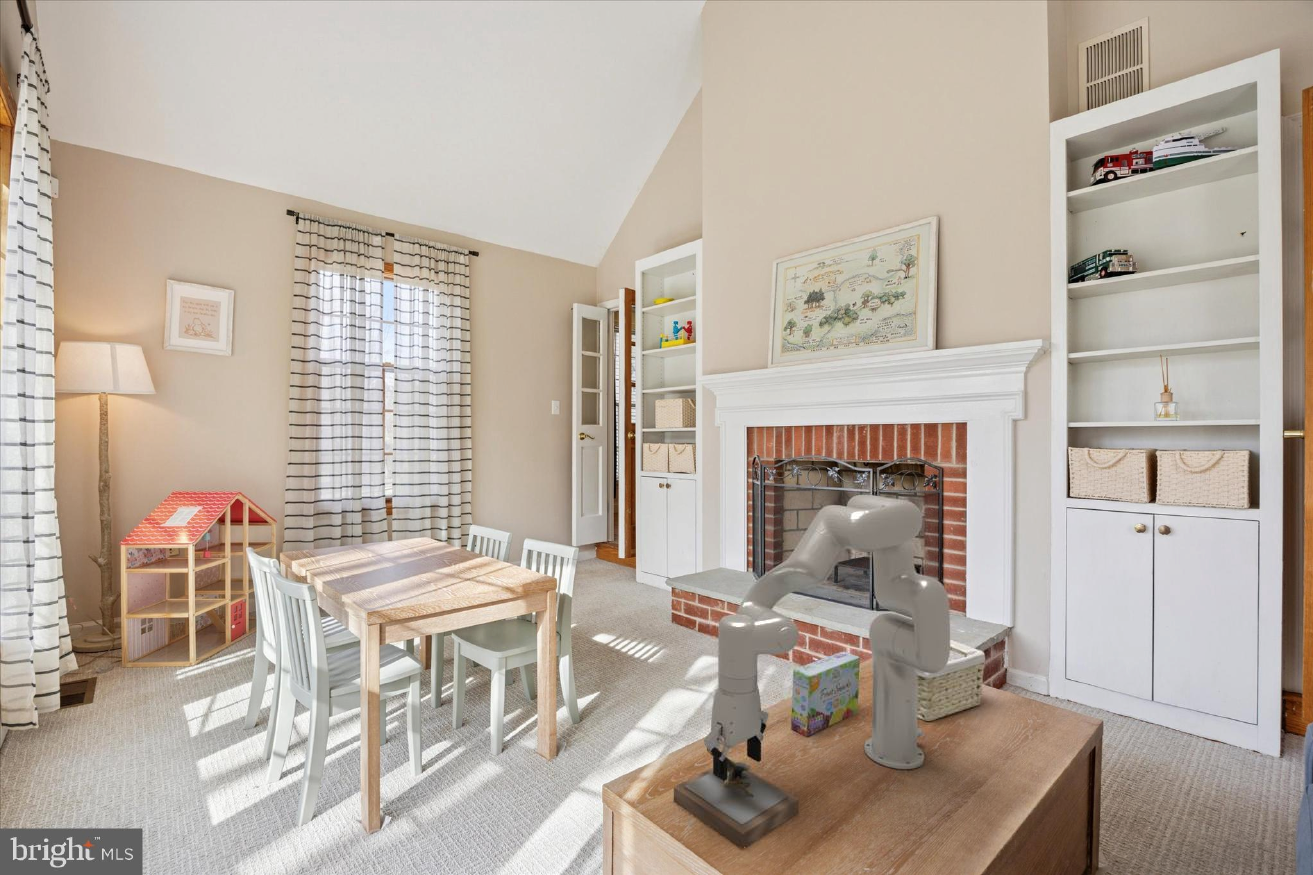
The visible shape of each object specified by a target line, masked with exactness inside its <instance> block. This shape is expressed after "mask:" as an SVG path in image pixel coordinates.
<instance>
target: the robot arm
mask: <svg viewBox="0 0 1313 875" xmlns="http://www.w3.org/2000/svg"><path fill="white" fill-rule="evenodd" d="M922 527H923V514H922V512H921V510H920V508H919V507H918V506H917V505H916V504H915V503H913V502H911V501H909V500H905V499H900V498H893V497H886V496H880V495H873V494H858V495H854V496H853V497H851V498H850V499H849V500H848V502H847V503H846V506H844V505H838V504H837V505H836V504H829V505H826V506H824V507H822V508H821V509H819V511H818V512H817V513H816V515H815V517H814V518H813V520H812V521H811V523H810V525H809V526H808V528H807V529H806V530H805V532H804V533H803V536H802V537H801V539H800V540H799V541H798V544H797V545H796V546H795V548H794V550H793V552H792V553H791V554H790V555H789V557H788V558H787V559H786V560H784V561H783V562H782V563H780V564H778V565H777V566H775V567H774V568H772V569H771V570H769V571H768V572H766V573H765V574H764V575H762V576H761V577H759V578H758V579H757V580H756V581H755V582H754V584H752V586H751V587H750V588H749V591H748V592H747V593H746V594H745V596H744V598H743V599H742V601H741V603H740V605H739V607H738V609H737V611H736V614H729V615H724V616H722V617H721V619H720V620H719V622H718V629H717V630H718V631H717V632H718V635H717V636H718V642H717V643H718V644H717V646H718V649H717V651H718V652H717V653H718V654H717V658H718V659H717V662H718V665H717V666H718V668H717V669H718V670H717V671H718V673H717V674H718V676H717V677H718V680H717V684H718V685H717V687H718V688H716V689H715V692H714V696H713V702H712V711H711V721H710V722H711V723H710V732H709V733H708V734H707V735H706V737H705V738H704V739H703V743H704V745H705V748H706V751H707V752H708V753H709V754H710V756H712V768H713V774H714V775H715V776H717V777H718V778H720V779H722V780H723V781H726V780H727V759H725V757H727V756H728V755H727V754H728V752H729V751H730V748H732V747H735V746H737V745H739V744H742V743H744V742H745V741H746V756H747V757H748V758H750V759H751V760H753V761H755V762H758V763H760V762H762V741H763V740H764V732H765V730H766V728H767V721H768V718H769V716H770V715H769V712H767V711H764V710H762V706H761V704H762V703H761V696H760V689H759V685H758V673H759V671H758V657H759V656H760V655H783V654H786V653H789V652H791V650H793V649H794V648H795V647H796V645H797V644H798V643H799V638H800V637H799V636H800V632H799V628H798V626H797V625H796V623H795V622H794V621H793V620H792V619H791V618H790V617H788V616H786V615H784V614H782V613H780V612H777V611H776V610H773V609H774V607H775V606H776V605H777V603H779V601H780V600H782V599H783V598H784V597H786V596H787V595H789V594H791V593H794V592H796V591H799V590H800V591H801V590H805V589H810V588H814V587H818V586H822V585H823V584H824V583H826V581H827V580H828V578H829V576H830V574H831V573H832V571H833V569H834V568H835V566H836V565H837V563H838V561H839V560H840V558H841V556H842V555H843V553H844V552H845V550H846V549H848V550H852V551H855V552H859V553H869V552H870V553H872V559H873V560H872V561H873V581H874V582H873V585H874V586H873V587H874V595H875V600H876V602H877V603H878V604H879V605H880V606H881V607H882V608H884V609H886V610H887V611H891V612H894V613H890V612H889V613H888V612H887V613H882V614H879V615H878V616H876V617H875V618H874V619H873V620H872V622H871V623H870V627H869V630H868V639H869V646H870V649H871V650H870V651H871V656H872V703H871V704H872V710H871V712H872V713H871V714H872V715H871V737H870V738H868V739H866V741H865V742H864V752H865V754H866V755H867V756H868V757H869V758H870V759H871V760H873V762H875V763H878V764H880V765H883V766H885V767H888V768H892V769H898V770H913V769H916V768H919V767H920V766H922V765H924V762H925V755H924V752H923V750H922V749H921V748H920V747H919V746H918V744H917V743H918V739H919V738H920V737H921V736H923V735H924V731H923V729H922V728H921V727H918V718H917V713H918V677H917V673H916V669H918V670H920V671H923V672H926V673H937V672H940V671H941V670H943V669H944V667H945V666H946V664H947V662H948V659H949V658H950V654H951V650H950V640H951V619H950V617H951V616H950V600H949V596H948V593H947V590H946V588H945V587H944V585H943V584H942V583H941V582H940V581H939V580H937V579H935V578H933V577H931V576H928V575H924V574H920V573H917V571H916V569H915V568H916V567H915V561H914V550H913V544H912V540H913V539H914V538H915V537H917V535H918V534H919V532H920V531H921V529H922ZM915 668H916V669H915ZM721 745H722V746H723V747H722V749H721V751H720V750H719V748H720V747H721Z"/></svg>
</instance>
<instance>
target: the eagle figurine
mask: <svg viewBox="0 0 1313 875" xmlns="http://www.w3.org/2000/svg"><path fill="white" fill-rule="evenodd" d="M725 759H727V771H728V772H729V775H728V778H727V780H726V781H724V785H723V787H724V786H725V785H727V784H728V785H731V786H732V785H733V786H737V787H739V788H741V789H742V790H743V791H744V792H745V793H746V794H747V795H749V796H752V797H754V796H753V795H752V794H751V793H750V792H749V791H747V790H746V788H747V787H749V786H750V784H751V783H747V782H744V783H742V782H743V780H744V779H745V778H748V777H747V776H743V777H742V772H743V771H748V770H749V771H750V770H751V766H750V765H748V764H747V763H745V762H735V764H733V763H732V762H731V761H730V760H731V759H730V758H728V757H727V756H726V757H725ZM729 759H730V760H729Z"/></svg>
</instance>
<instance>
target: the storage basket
mask: <svg viewBox="0 0 1313 875" xmlns="http://www.w3.org/2000/svg"><path fill="white" fill-rule="evenodd" d="M950 651H952V652H955V653H958V654H960V655H962V656H964V657H959V658H956V659H955V658H952V657H949V659H948V662H947V664H946V666H945V667H944V669H943V670H941V671H940V672H937V673H926V672H923V671H920V670H918V669H916V668H915V669H916V673H917V677H918V713H917V719H920V720H922V721H925V722H930V721H935V720H936V719H937V720H938V719H941V718H943V717H945V716H949V715H952V714H955V713H958V712H962V711H964V710H968V709H970V708H972V707H975V706H980V704H982V702H981V699H982V691H983V687H982V686H983V682H984V681H983V678H984V676H983V675H984V670H985V665H986V664H985V662H986V656H985V654H986V653H984V651H983V650H980V649H977V648H975V647H973V646H972V647H971V646H968V645H967V644H964V643H960V642H957V641H955V640H952V639H950Z"/></svg>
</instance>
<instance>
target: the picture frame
mask: <svg viewBox="0 0 1313 875" xmlns="http://www.w3.org/2000/svg"><path fill="white" fill-rule="evenodd" d="M728 759H729V760H730V761H731V762H732V763H733V764H735V763H736V762H735V761H733V760H732V759H730V758H728ZM728 775H729V772H728V771H727V778H728ZM743 776H747V777H748V778H745V779H744V780H743V782H742V783H744V782H747V783H751V784H750V786H749V787H747V788H746V790H747V791H749V792H750V793H751V794H752V795H753V796H754V797H752V796H749V795H747V794H746V793H745V792H744V791H743V790H742V789H741V788H739V787H737V786H733V785H732V786H731V785H728V784H727V785H725V786H724V787H723V785H724V781H723V780H722V779H720V778H718V777H717V776H715V775H714V774H713V767H711V768H709V769H707V770H705V771H703V772H701V773H699V774H697V775H695V776H693V777H691V778H689V779H687V780H685V781H683V782H681V783H680V784H679V783H678V784H677V785H676V786H673V801H674V802H675V803H676V804H678V805H679V806H681V807H682V808H683V809H685V810H686V811H687V812H689V813H690V812H691V813H690V814H692V815H693V816H695V817H696V818H698V819H699V820H700V819H701V820H700V821H702V820H703V821H702V822H704V823H705V824H706V825H707V824H708V825H707V826H709V827H710V826H711V829H713V830H715V832H718V833H719V834H720V835H721V836H723V837H724V838H726V839H728V840H729V841H730V842H732V843H733V844H734V845H736V846H737V847H738V848H740V847H741V848H740V849H741V850H743V848H744V847H745V848H747V847H748V846H750V845H751V844H753V843H755V842H756V841H758V840H759V839H761V838H762V837H764V836H765V835H766V833H767V834H768V833H770V832H771V831H773V830H774V829H776V828H778V827H779V826H781V825H782V824H783V823H785V822H786V821H788V820H790V819H791V818H792V817H794V816H796V815H797V814H799V808H800V807H799V804H800V803H799V800H800V799H799V798H798V797H796V796H795V795H793V794H791V793H789V792H787V791H786V790H784V789H782V788H781V787H779V786H777V785H775V783H772V782H770V781H769V780H767V779H765V778H763V777H761V776H760V775H757V774H756V773H754V772H752V771H751V770H750V769H749V770H748V771H743V772H742V777H743ZM769 831H770V832H769ZM749 844H750V845H749ZM745 848H744V849H745Z"/></svg>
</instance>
